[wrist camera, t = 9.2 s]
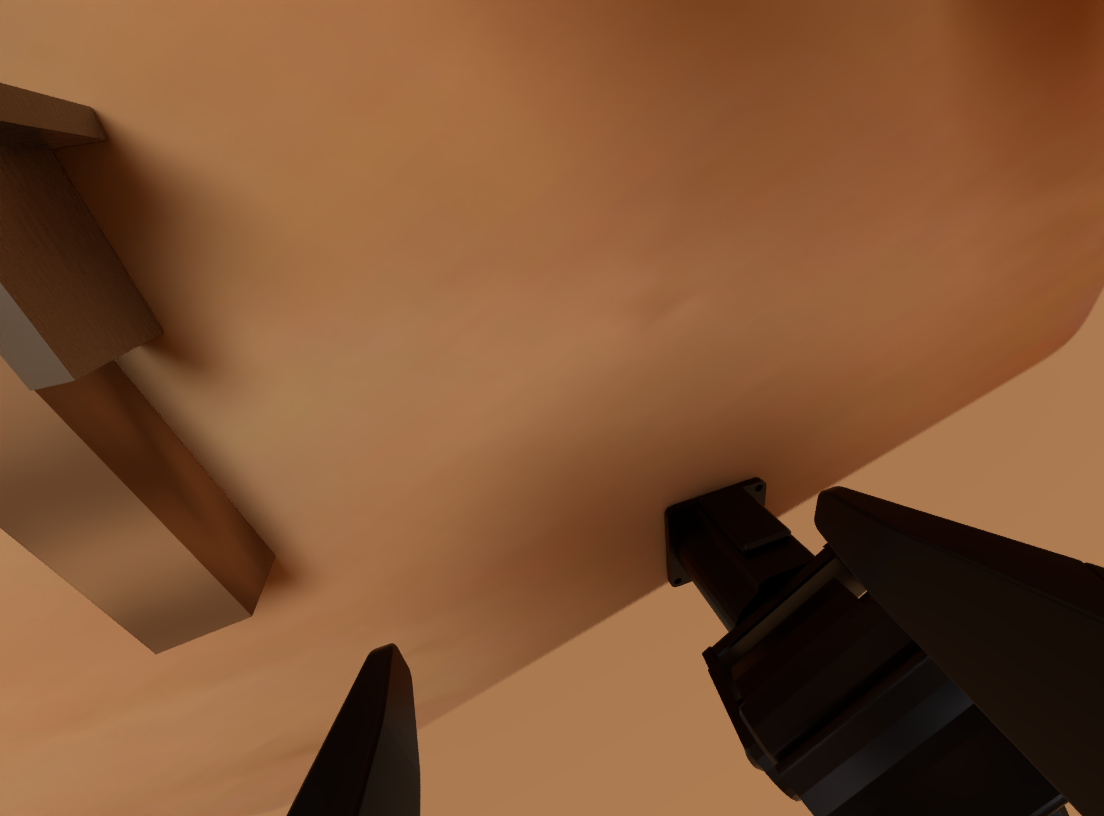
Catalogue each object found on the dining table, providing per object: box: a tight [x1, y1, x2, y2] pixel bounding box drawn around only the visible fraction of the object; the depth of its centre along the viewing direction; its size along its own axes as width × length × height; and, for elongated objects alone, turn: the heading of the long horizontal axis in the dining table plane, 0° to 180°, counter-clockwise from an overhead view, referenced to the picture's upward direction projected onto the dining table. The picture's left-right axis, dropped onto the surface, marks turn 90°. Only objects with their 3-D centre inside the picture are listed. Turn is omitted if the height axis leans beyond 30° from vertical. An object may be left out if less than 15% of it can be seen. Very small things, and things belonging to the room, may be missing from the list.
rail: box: [0, 355, 275, 654], centre depth 15 cm, size 15×4×4 cm, turn 15°
